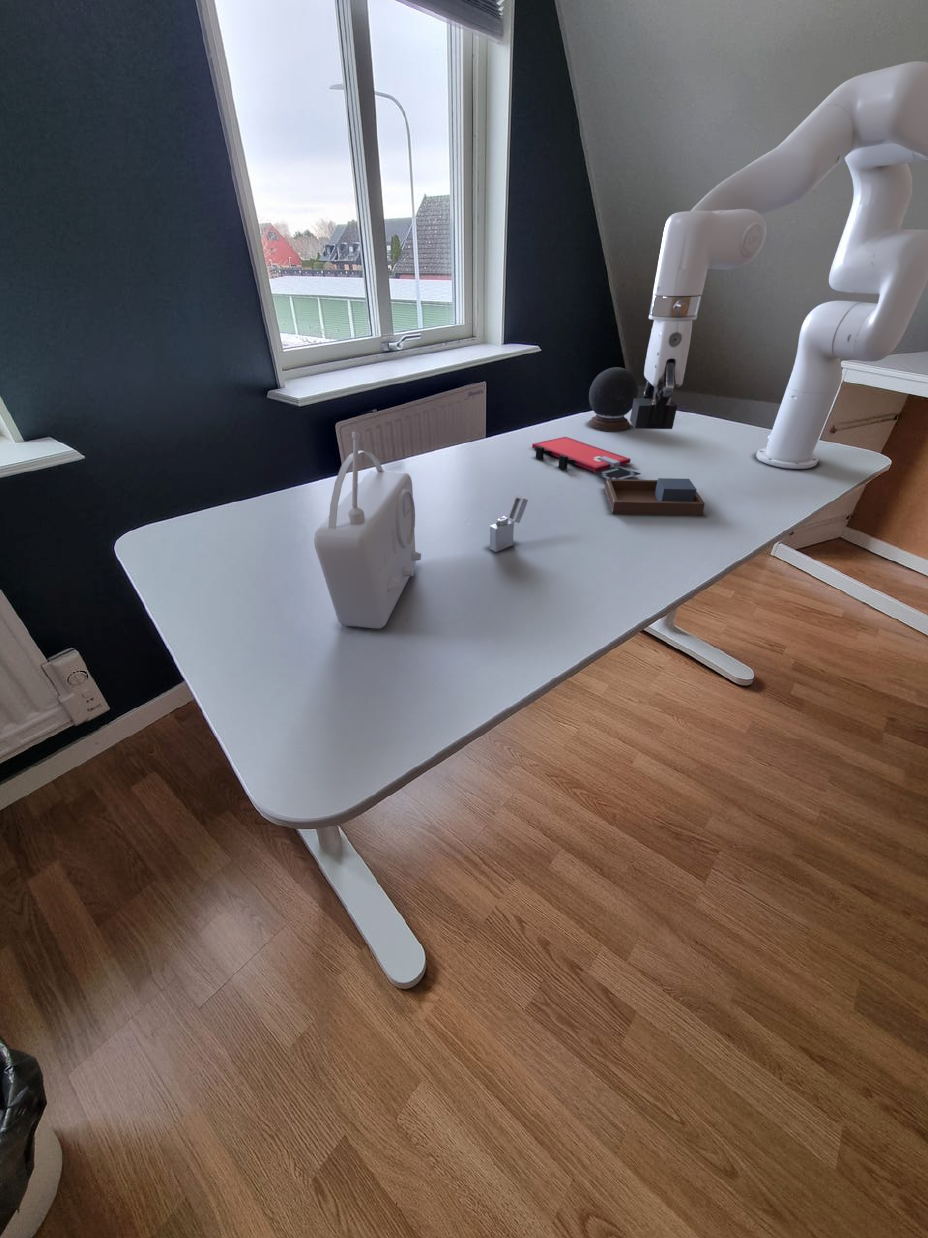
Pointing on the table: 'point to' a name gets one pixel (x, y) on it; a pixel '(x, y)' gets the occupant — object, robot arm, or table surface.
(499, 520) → the lighter
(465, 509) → the table surface
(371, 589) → the radio
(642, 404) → the black block
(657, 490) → the pad
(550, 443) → the red board with handle
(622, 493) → the brown wooden tray
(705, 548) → the table surface
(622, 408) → the dark sphere on stand
